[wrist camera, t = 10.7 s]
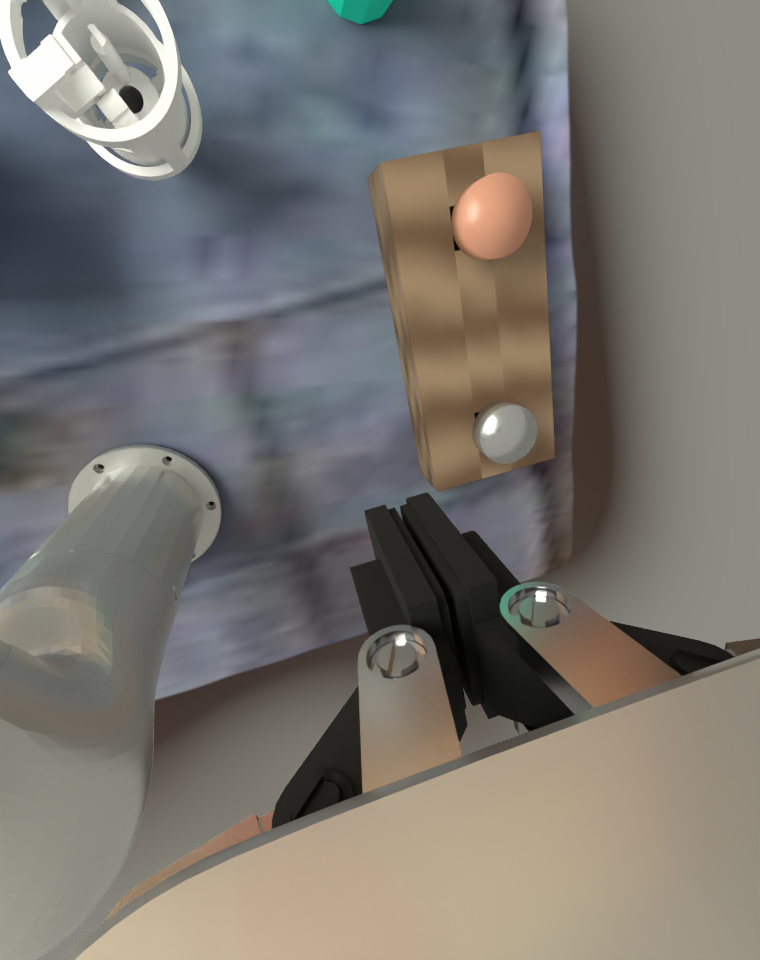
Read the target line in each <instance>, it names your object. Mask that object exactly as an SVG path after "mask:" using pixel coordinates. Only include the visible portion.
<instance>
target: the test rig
mask: <svg viewBox="0 0 760 960" xmlns="http://www.w3.org/2000/svg"><path fill="white" fill-rule="evenodd" d="M493 173H507V174H510V175H513V176H514V177H516V178H517V179H519V180H520V181H521V182H522V183H523V185H524V186H525V187H526V189H527V191H528V193H529V196H530V199H531V203H532V222H531V226H530V229H529V232H528V234H527V237H526V238H525V240H524V242H523V243H522V244H521V246H520V247H519V248H518V249H517V250H516V251H514V252H513V253H511V254H510V255H508V256H506V257H503V258H497V259H491V260H476V259H472V258H470V257H468V256H467V255H466V254H464V253H463V252H462V251H461V250H460V248H459V247H458V245H457V244H456V242H454V241H453V233H452V225H451V220H452V212H453V208H454V205H455V203H456V201H457V199H458V197H459V196H460V194H461V193H462V192H463V191H464V189H465V188H467V187H468V186H469V185H471V184H472V183H474V182H476V181H478V180H479V179H481V178H483V177H485V176H487V175H489V174H493ZM368 183H369V188H370V194H371V199H372V205H373V210H374V216H375V221H376V227H377V232H378V238H379V243H380V249H381V254H382V260H383V265H384V271H385V276H386V282H387V287H388V293H389V298H390V304H391V309H392V315H393V320H394V326H395V332H396V337H397V343H398V348H399V354H400V359H401V365H402V370H403V376H404V381H405V387H406V392H407V398H408V403H409V409H410V414H411V420H412V425H413V431H414V436H415V442H416V447H417V453H418V458H419V464H420V469H421V473H422V474H423V476H424V477H425V478H426V479H427V480H428V482H429V483H430V484H431V485H432V486H433V488H434V489H435V490H436V491H437V492H438V491H442V490H445V489H449V488H452V487H456V486H459V485H463V484H466V483H470V482H473V481H476V480H480V479H483V478H487V477H490V476H494V475H497V474H501V473H504V472H508V471H511V470H515V469H518V468H522V467H525V466H529V465H532V464H535V463H539V462H542V461H546V460H549V459H553V458H555V445H554V423H553V401H552V379H551V357H550V336H549V314H548V292H547V270H546V248H545V226H544V204H543V183H542V161H541V139H540V131H538V132H532V133H527V134H522V135H517V136H512V137H507V138H502V139H497V140H492V141H487V142H482V143H476V144H471V145H466V146H461V147H456V148H451V149H446V150H441V151H436V152H431V153H426V154H420V155H415V156H410V157H405V158H400V159H395V160H390V161H385V162H381V163H380V164H379V166H378V167H377V168H376V169H375V170H374V171H373V173H372V174H371V175H370V176H369V177H368ZM501 400H506V401H511V402H513V403H515V404H517V405H520V406H522V407H524V408H526V409H528V410H529V411H530V412H531V413H532V414H533V416H534V417H535V419H536V422H537V437H536V440H535V443H534V445H533V447H532V448H531V450H530V451H529V452H528V453H527V454H526V455H525V456H524V457H523V458H521V459H520V460H518V461H516V462H513V463H509V464H500V463H496V462H494V461H492V460H491V459H489V458H488V457H487V456H486V455H484V454H483V453H482V452H480V451H479V450H478V449H477V448H476V446H475V444H474V442H473V439H472V427H473V423H474V421H475V415H474V413H476V412H480V411H481V410H482V409H483V408H484V407H486V406H487V405H489V404H491V403H493V402H496V401H501Z"/></svg>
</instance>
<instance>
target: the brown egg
mask: <svg viewBox="0 0 760 960" xmlns="http://www.w3.org/2000/svg"><path fill="white" fill-rule="evenodd" d="M531 222H532V203H531V199H530V196H529V193H528V191H527V189H526V187H525V186H524V185H523V183H522V182H521V181H520V180H519V179H517V178H516V177H514V176H513V175H510V174H507V173H493V174H489V175H487V176H485V177H483V178H481V179H479V180H478V181H476V182H474V183H472V184H471V185H469V186H468V187H467V188H465V189H464V191H463V192H462V193H461V194H460V196H459V197H458V199H457V201H456V203H455V205H454V208H453V212H452V220H451V225H452V233H453V241H454V242H456V244H457V245H458V247H459V248H460V250H461V251H462V252H463V253H464V254H466V255H467V256H468V257H470V258H472V259H476V260H491V259H497V258H503V257H506V256H508V255H510V254H511V253H513V252H514V251H516V250H517V249H518V248H519V247H520V246H521V244H522V243H523V242H524V240H525V238H526V237H527V234H528V232H529V229H530V226H531Z"/></svg>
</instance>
